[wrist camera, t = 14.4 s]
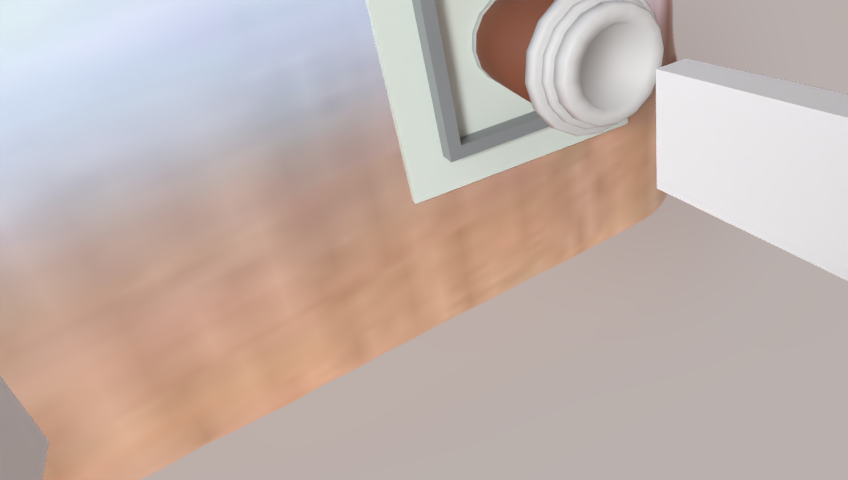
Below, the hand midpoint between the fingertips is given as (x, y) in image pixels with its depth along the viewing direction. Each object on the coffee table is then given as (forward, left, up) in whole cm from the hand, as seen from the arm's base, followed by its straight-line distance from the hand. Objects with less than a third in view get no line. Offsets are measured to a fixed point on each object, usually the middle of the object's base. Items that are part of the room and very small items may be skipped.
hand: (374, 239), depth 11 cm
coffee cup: (+6, +20, -31) cm, 38 cm away
